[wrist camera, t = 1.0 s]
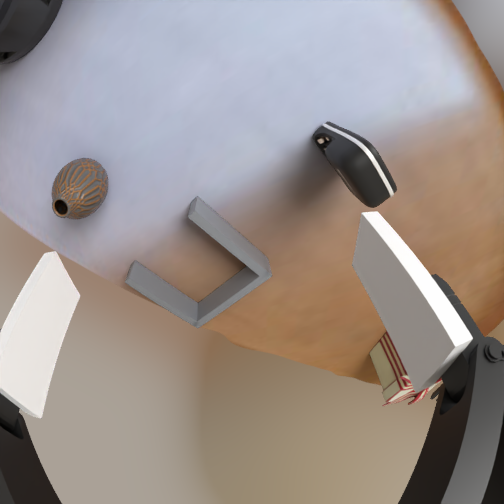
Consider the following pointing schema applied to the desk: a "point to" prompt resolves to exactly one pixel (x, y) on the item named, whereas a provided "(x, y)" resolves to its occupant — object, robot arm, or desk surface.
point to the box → (224, 294)
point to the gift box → (393, 373)
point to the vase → (79, 189)
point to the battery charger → (356, 164)
